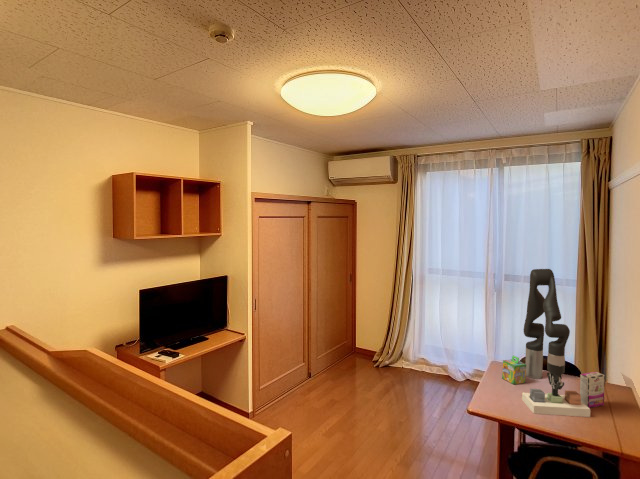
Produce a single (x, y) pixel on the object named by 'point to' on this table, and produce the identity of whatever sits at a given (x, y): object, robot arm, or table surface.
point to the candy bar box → (592, 389)
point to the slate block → (537, 395)
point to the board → (556, 407)
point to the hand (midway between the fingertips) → (554, 395)
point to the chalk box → (514, 371)
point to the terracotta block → (572, 397)
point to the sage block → (554, 398)
